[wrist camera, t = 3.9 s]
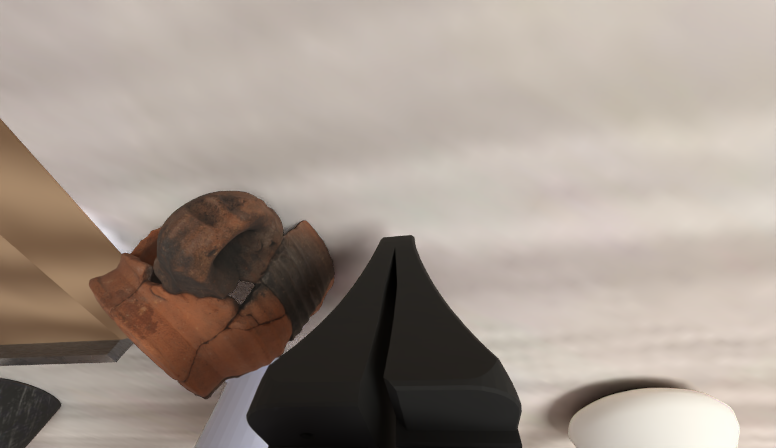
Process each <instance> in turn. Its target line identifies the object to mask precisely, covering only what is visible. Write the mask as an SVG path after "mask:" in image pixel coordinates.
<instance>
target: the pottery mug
mask: <svg viewBox="0 0 776 448" xmlns="http://www.w3.org/2000/svg"><path fill="white" fill-rule="evenodd" d="M334 275H335V272H334V267H333V261H332V259H331V257H330V255H329V252H328V249H327V247H326V245H325V243H324V242H323V240H322V239H321V238H320V237H319V235H318V234H317V232H316V231H315V230H314V229H313V228H312V226H311V225H310V224H309V223H308V222H307V221H302V222H300V223H299V224H298V225H297V226H296V228H295V229H292V230H290V231H289V232H288V233H287V234H285V235H284V236H283V226H282V222H281V220H280V218H279V217H278V215H277V214H276V212H275V211H274V210H273V209H271V208H269V207H267V205H266V204H265V203H264V201H262V200H260V199H258V198H257V197H255V196H254V195H251V194H249V193H246V192H240V191H218V192H213V193H209V194H205V195H202V196H200V197H198V198H196V199H193V200H191V201H190V202H188V203H186V204H185V205H183V206H182V207H180V208H179V209H177V210H176V211H175V212H174V213H173V214H171V216H170V217H169V218H168V219H167V220H166V221H165V223H164V224H163V226H162V227H161V228H159V229H156V230H153V231H151V232H150V234H149V235H148V236H147V237H146V238H145V239H143V240H141V241H140V243H139V244H138V246H137V247H136V248H135V249H134V250H133V252H132V253H131V254H129V253H123V254H122V255H121V260H120V263H119V265H118V266H117V268H116V269H114V270H112V271H110V272H109V273H107V274H105V275H103V276H99V277H95V278H92V279H90V280H89V287H90V289H91V290H92V292H93V294H94V296H95V298H96V300H97V302H98V303H99V304H100V306H101V307H102V309H103V310H104V311H105V312H106V313H107V315H108V316H109V317H110V318H111V319H112V320H114V321H115V322H116V324H117V326H118V327H119V328H120V330H121V331H122V332H123V333H124V334H125V335H126V336H127V337H128V338H129V339H130V340H131V341H132V342H133V343H134V344H135V345H136V346H137V347H138V348H139V349H140V350H141V351H143V352H144V353H145V354H146V355H147V356H148V357H149V358H150V359H151V360H152V361H153V362H154V363H155V364H157V365H158V366H159V367H160V368H161V369H163V370H164V371H165V372H166V373H167V374H168V375H169V376H170V377H171V378H173V379H175V380H178V382H179V383H180V384H181V385H182V386H183V387H185V388H186V389H187V390H189V391H190V392H192V393H194V394H195V395H197V396H200V397H202V398H204V399H208V398H210V397H211V395H212V394H213V392H214V391H215V390H216V389H217V388H218V387H219V386H220V385H221V384H222V383H223V382H224V381H225V380H227V379H232V378H239V377H241V376H242V375H245V374H247V373H250V372H253V371H256V370H258V369H259V368H261V367H263V366H267V365H270V364H271V362H272V361H273V360H274V359H275V358H277V357H278V356H280V355H282V354H283V352H284V349H285V346H286V344H287V343H288V341H292V340H293V339H294V338H295V336H296V335H298V334H299V333H300V332H301V330H302V327H303V326H304V325H305V324H306V323H307V322H308V321H309V318H310V317H311V316H312V315H314V314H315V313H316V312H317V311H318V310H319V309H320V307H321V306H322V303H323V300H324V298H325V296H326V294H327V292H328V291H329V289H330V288H331V287H332V285H333V283H334ZM239 280H241V281H247V282H252V283H254V284H255V286H254V288H253V289H252V291H251V293H250V294H249V295H248V296H247V298H246V300H245V301H244V303H243V304H241V305H239V304H238V303H237V302H236V301H235V299H234V298H232V297H230V296H228V294H229V293H231V292H232V291H233V290H234V289H235V288H236V286H237V284H238V281H239Z"/></svg>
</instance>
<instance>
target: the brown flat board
mask: <svg viewBox="0 0 776 448" xmlns="http://www.w3.org/2000/svg"><path fill="white" fill-rule="evenodd" d="M121 255H122V254H121V253H120V252H119V251H118V250H117V248H116V247H115V246H114V245H113V244H112V243H111V242H110V241H109V240H108V238H107V237H106V236H105V235H104V234H103V233H102V232H101V231H100V229H99V228H98V227H97V226H96V225H95V224H94V223H93V222H92V221H91V219H90V218H89V217H88V216H87V215H86V214H85V213H84V212H83V211H82V209H81V208H80V207H79V206H78V205H77V204H76V203H75V202H74V200H73V199H72V198H71V197H70V196H69V195H68V194H67V193H66V192H65V190H64V189H63V188H62V187H61V186H60V185H59V184H58V183H57V181H56V180H55V179H54V178H53V177H52V176H51V175H50V174H49V173H48V171H47V170H46V169H45V168H44V167H43V166H42V165H41V164H40V162H39V161H38V160H37V159H36V158H35V157H34V156H33V155H32V154H31V152H30V151H29V150H28V149H27V148H26V147H25V146H24V145H23V144H22V142H21V141H20V140H19V139H18V138H17V137H16V136H15V135H14V133H13V132H12V131H11V130H10V129H9V128H8V127H7V126H6V125H5V123H4V122H3V121H2V120H1V119H0V345H10V344H32V343H55V342H77V341H100V340H121V339H126V338H128V337H127V336H126V335H125V334H124V333H123V332H122V331H121V330H120V328H119V327H118V326H117V324H116V322H115V321H114V320H112V319H111V318H110V317H109V316H108V315H107V313H106V312H105V311H104V310H103V309H102V307H101V306H100V304H99V303H98V302H97V300H96V298H95V296H94V294H93V292H92V290H91V289H90V287H89V280H90V279H92V278H95V277H99V276H103V275H105V274H107V273H109V272H110V271H112V270H114V269H116V268H117V266H118V265H119V263H120V260H121Z"/></svg>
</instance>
